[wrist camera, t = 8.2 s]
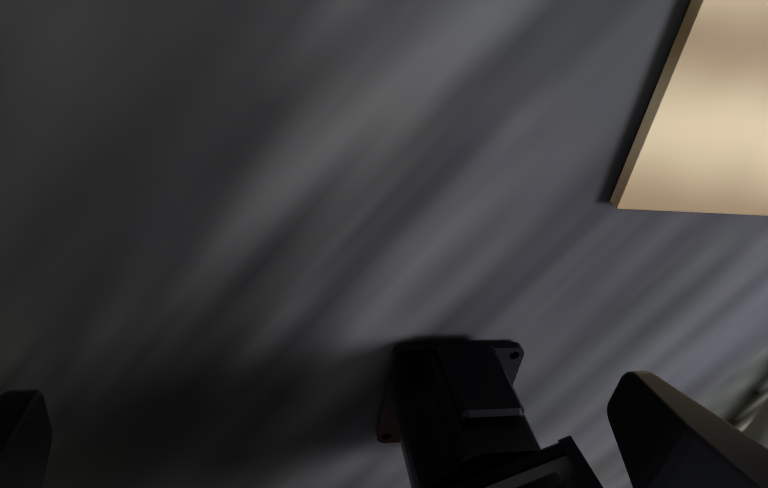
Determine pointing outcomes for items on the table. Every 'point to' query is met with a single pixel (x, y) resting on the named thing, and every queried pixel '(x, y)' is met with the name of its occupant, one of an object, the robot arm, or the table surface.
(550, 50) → the table surface
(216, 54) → the table surface
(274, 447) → the table surface
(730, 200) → the mat
